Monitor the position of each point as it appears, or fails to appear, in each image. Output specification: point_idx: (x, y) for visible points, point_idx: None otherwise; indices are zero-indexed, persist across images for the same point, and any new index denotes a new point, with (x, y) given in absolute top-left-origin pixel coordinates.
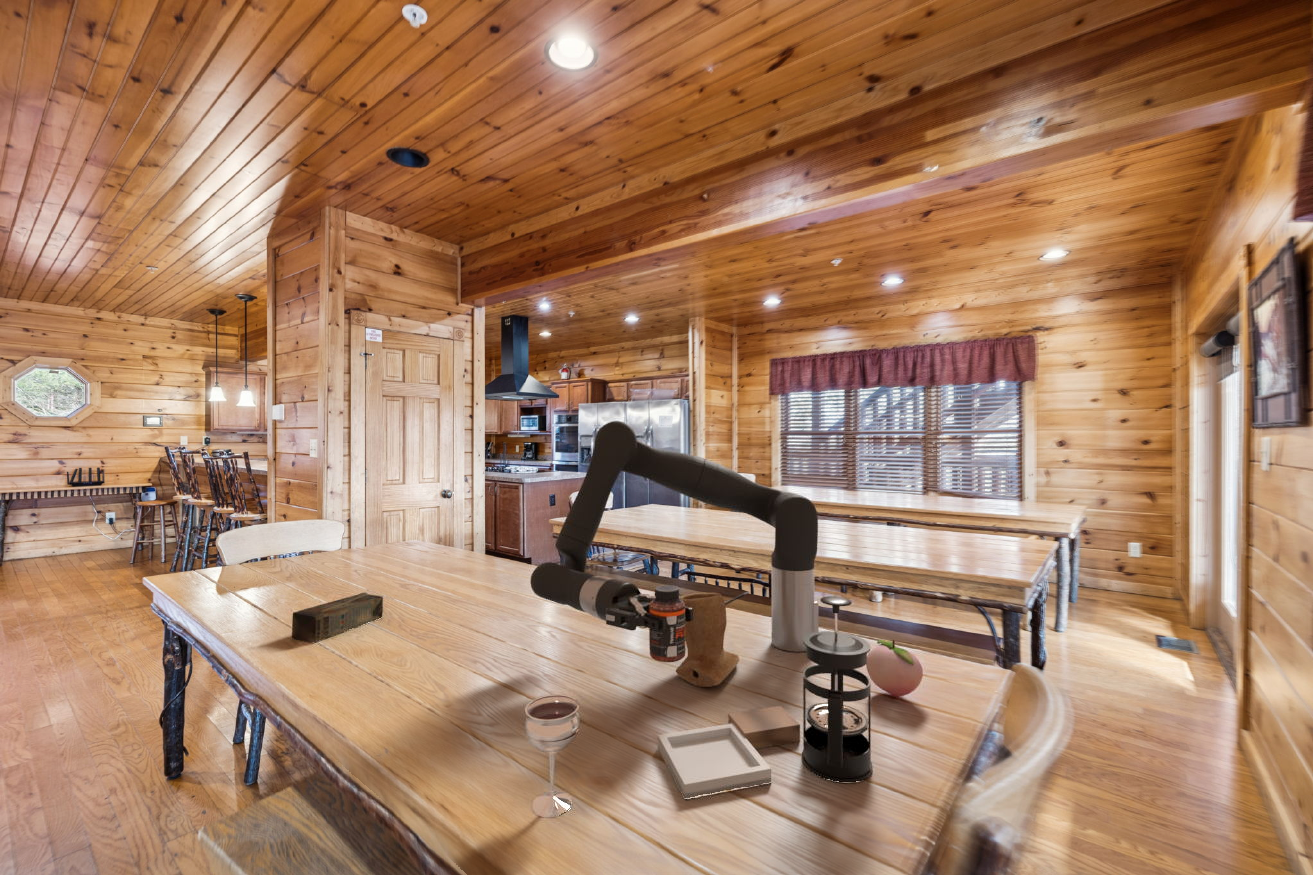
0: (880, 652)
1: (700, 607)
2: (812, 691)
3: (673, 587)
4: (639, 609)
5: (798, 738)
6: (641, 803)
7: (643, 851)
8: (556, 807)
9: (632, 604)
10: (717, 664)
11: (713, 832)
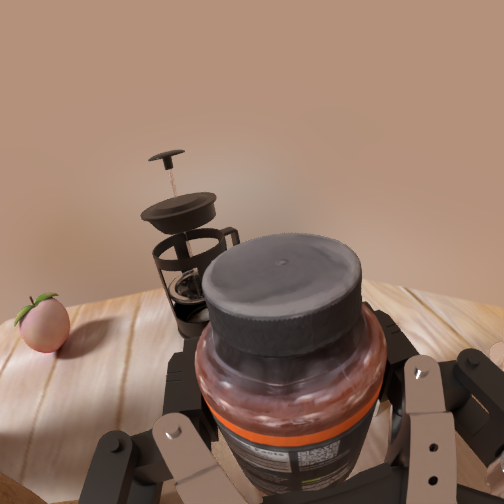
0: (43, 310)
1: (6, 497)
2: (224, 248)
3: (242, 257)
4: (428, 409)
5: None
6: (427, 339)
7: (434, 301)
8: (502, 345)
9: (453, 467)
10: None
11: (377, 301)
